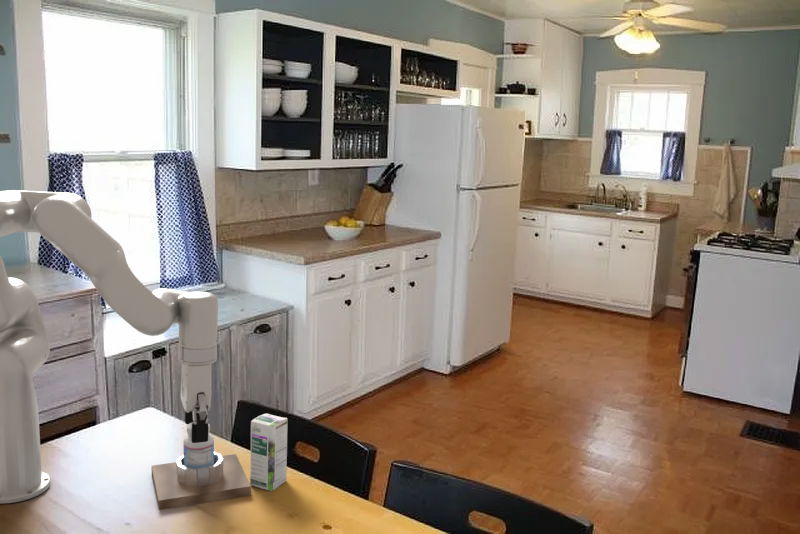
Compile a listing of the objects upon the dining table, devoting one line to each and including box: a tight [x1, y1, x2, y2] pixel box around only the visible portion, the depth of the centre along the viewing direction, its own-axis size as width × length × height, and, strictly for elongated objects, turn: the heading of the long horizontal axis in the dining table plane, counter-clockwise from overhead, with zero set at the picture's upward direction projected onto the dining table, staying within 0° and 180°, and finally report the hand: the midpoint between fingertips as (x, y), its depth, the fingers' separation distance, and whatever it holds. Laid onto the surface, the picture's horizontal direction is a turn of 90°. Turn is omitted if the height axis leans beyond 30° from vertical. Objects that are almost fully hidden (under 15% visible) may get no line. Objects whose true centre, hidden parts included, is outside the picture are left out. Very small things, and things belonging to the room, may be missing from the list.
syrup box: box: [249, 413, 288, 492], centre depth 153 cm, size 6×6×14 cm
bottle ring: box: [175, 451, 223, 486], centre depth 152 cm, size 9×9×4 cm
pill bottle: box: [183, 422, 215, 469], centre depth 151 cm, size 6×6×11 cm
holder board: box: [151, 453, 252, 511], centre depth 152 cm, size 18×16×2 cm
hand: (196, 432), depth 150 cm, fingers open, 9 cm apart
